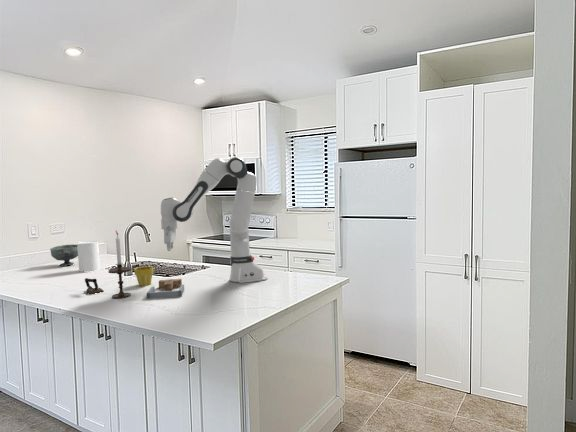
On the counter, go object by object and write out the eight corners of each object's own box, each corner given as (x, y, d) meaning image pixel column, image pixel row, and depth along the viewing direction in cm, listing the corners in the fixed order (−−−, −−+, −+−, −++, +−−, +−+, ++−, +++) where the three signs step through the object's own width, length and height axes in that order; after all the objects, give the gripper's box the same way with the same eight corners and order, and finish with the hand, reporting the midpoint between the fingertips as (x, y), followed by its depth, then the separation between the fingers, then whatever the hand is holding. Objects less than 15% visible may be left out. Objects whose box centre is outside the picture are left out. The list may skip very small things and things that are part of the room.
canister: (94, 271, 286) (92, 243, 285) (75, 272, 287) (73, 244, 285) (103, 268, 300) (101, 240, 298) (85, 268, 300) (83, 241, 299)
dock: (184, 290, 224) (184, 284, 224) (181, 296, 210) (181, 290, 210) (151, 292, 222) (151, 286, 222) (146, 299, 208) (146, 293, 208)
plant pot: (148, 286, 235) (147, 269, 234) (131, 286, 237) (130, 269, 236) (157, 282, 245) (156, 266, 244) (141, 282, 247) (140, 266, 246)
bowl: (46, 268, 308) (44, 248, 307) (64, 263, 327) (62, 244, 326) (69, 268, 305) (68, 247, 304) (86, 263, 324) (85, 244, 323)
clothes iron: (92, 295, 221) (87, 278, 221) (82, 298, 227) (77, 280, 227) (104, 291, 227) (99, 274, 226) (94, 294, 233) (89, 277, 233)
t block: (181, 285, 235) (181, 278, 235) (179, 290, 223) (179, 283, 223) (160, 287, 234) (159, 280, 233) (156, 292, 222) (156, 284, 221)
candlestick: (106, 299, 211) (101, 231, 208) (117, 293, 221) (113, 228, 219) (125, 299, 209) (121, 230, 207) (136, 293, 220) (132, 228, 217)
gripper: (172, 227, 228) (173, 252, 229) (177, 224, 248) (177, 247, 249) (160, 227, 227) (161, 252, 228) (166, 224, 247) (167, 247, 248)
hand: (170, 249), depth 239 cm, fingers open, 8 cm apart
